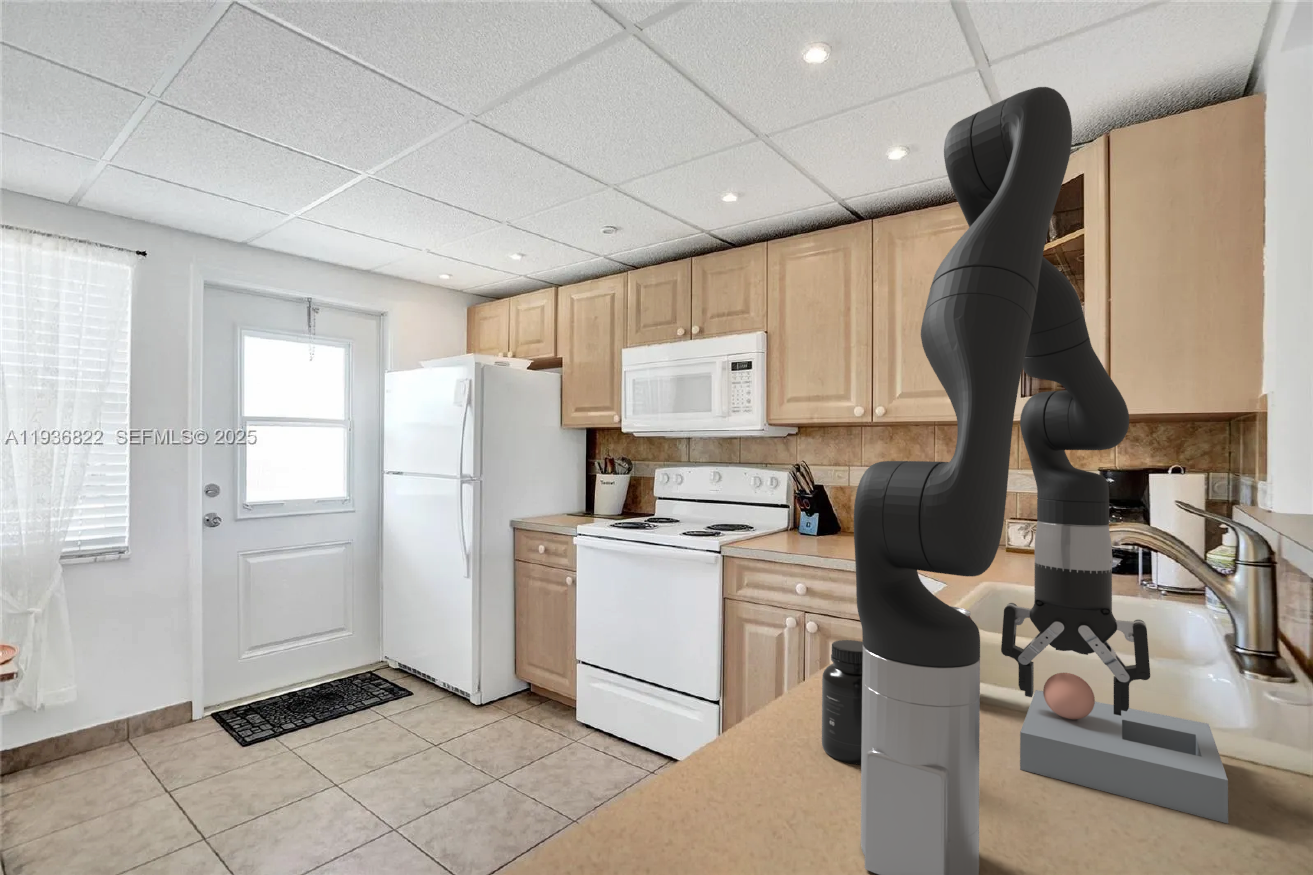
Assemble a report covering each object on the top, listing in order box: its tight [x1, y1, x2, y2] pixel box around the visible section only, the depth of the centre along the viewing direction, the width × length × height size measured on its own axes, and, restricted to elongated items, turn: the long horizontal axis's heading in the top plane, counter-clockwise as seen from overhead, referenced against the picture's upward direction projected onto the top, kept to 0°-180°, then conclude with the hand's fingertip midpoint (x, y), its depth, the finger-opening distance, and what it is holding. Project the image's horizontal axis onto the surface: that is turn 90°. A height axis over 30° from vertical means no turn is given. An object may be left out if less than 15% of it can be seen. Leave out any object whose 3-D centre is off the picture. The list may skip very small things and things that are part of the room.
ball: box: [1042, 672, 1096, 719], centre depth 75 cm, size 5×5×5 cm
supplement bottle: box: [821, 639, 863, 765], centre depth 74 cm, size 7×7×12 cm
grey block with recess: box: [1019, 689, 1229, 824], centre depth 72 cm, size 16×17×4 cm
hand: (1072, 703), depth 74 cm, fingers open, 8 cm apart
